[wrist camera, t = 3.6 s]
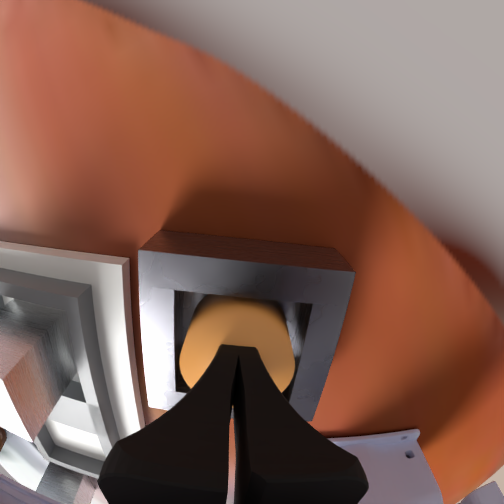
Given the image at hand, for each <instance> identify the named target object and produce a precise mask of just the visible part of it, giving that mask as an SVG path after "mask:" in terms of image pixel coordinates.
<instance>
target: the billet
mask: <svg viewBox="0 0 504 504" xmlns="http://www.w3.org/2000/svg"><path fill="white" fill-rule="evenodd" d="M36 492H37V493H39V494H42V495H44V496H46V497H48V498H50V499H53V500H55V501H57V502H60V503H62V504H90V503H91V500H92V498H93V495H94V492H95V489H94V487H93V485H92V483H91V482H90V480H89V478H88V476H87V475H85V474H82V473H79V472H76V471H73V470H71V469H68V468H65V467H63V466H60V465H58V464H55V463H53V462H50V463H49V465H48V467H47V469H46V471H45V473H44V475H43V477H42V479H41V481H40V483H39V485H38V487H37V490H36Z"/></svg>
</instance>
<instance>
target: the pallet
mask: <svg viewBox="0 0 504 504" xmlns="http://www.w3.org/2000/svg"><path fill="white" fill-rule="evenodd" d="M12 299H17V300H20V301H24V302H28V303H32V304H36V305H40V306H45V307H49V308H53V309H58V310H62V311H65V312H66V318H67V324H68V329H69V334H70V339H71V344H72V349H73V353H74V358H75V362H76V366H77V370H78V372H77V373H76V375H75V376H74V378H73V379H72V381H71V382H70V384H69V385H68V387H67V388H66V390H65V391H64V393H63V394H62V396H61V397H60V399H59V401H58V402H57V404H56V405H55V407H54V408H53V410H52V412H51V413H50V415H49V416H48V418H47V420H46V421H45V423H44V425H43V426H42V428H41V429H40V431H39V433H38V434H37V436H36V438H35V440H34V442H35V444H36V446H37V448H38V449H39V451H40V453H41V454H42V456H43V458H44V459H45V460H48V461H50V462H53V463H55V464H58V465H60V466H63V467H65V468H68V469H71V470H73V471H76V472H79V473H82V474H85V475H88V476H91V477H94V478H97V479H98V477H99V474H100V472H101V469H102V466H103V463H104V461H105V459H106V457H107V456H108V454H109V452H110V450H111V449H112V447H113V446H114V444H115V443H116V442H117V441H119V440H121V439H123V438H125V437H127V436H129V435H131V434H133V433H135V432H137V431H139V430H141V429H142V428H144V427H145V422H144V416H143V410H142V403H141V397H140V390H139V382H138V374H137V366H136V357H135V347H134V337H133V325H132V310H131V292H130V262H129V258H125V257H117V256H109V255H101V254H93V253H85V252H77V251H69V250H62V249H54V248H47V247H39V246H32V245H25V244H18V243H11V242H4V241H0V309H1V308H2V307H3V306H4V305H6V304H7V303H8V302H10V301H11V300H12Z"/></svg>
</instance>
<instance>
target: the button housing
mask: <svg viewBox="0 0 504 504" xmlns="http://www.w3.org/2000/svg"><path fill="white" fill-rule="evenodd" d="M138 273H139V304H140V323H141V338H142V350H143V361H144V372H145V381H146V389H147V397H148V405H149V407H152V408H158V409H164V410H169V409H171V408H172V407H173V406H174V405H175V404H176V403H178V402H179V401H180V400H181V399H182V398H183V397H184V396H185V395H186V394H187V393H188V392H189V391H190V389H191V388H190V387H189V386H188V385H187V383H186V382H185V380H184V378H183V376H182V374H181V370H180V363H179V362H180V354H181V350H182V347H183V344H184V341H185V337H186V334H187V331H188V328H189V325H190V322H191V319H192V316H193V313H194V310H195V308H196V307H197V305H198V303H199V302H200V301H201V300H202V299H203V298H204V297H205V296H206V295H208V294H215V295H224V296H233V297H243V298H254V299H264V300H276V301H277V302H278V304H279V305H280V306H281V308H282V310H283V312H284V314H285V317H286V322H287V326H288V331H289V336H290V340H291V345H292V350H293V355H294V360H295V370H294V374H293V377H292V380H291V382H290V383H289V385H288V386H287V388H286V389H285V390H284V391H283V392H282V394H283V396H284V397H285V398H286V400H287V401H288V402H289V403H290V405H291V406H292V407H293V408H294V409H295V410H296V411H297V413H298V414H299V415H300V416H301V417H302V418H303V419H304V420H305V421H312V419H313V417H314V414H315V411H316V408H317V405H318V403H319V400H320V397H321V394H322V391H323V388H324V385H325V382H326V379H327V376H328V372H329V369H330V366H331V363H332V360H333V356H334V353H335V350H336V346H337V343H338V339H339V336H340V332H341V329H342V325H343V321H344V318H345V314H346V310H347V306H348V302H349V298H350V294H351V290H352V286H353V282H354V278H355V273H356V272H355V271H354V270H353V268H352V267H351V266H350V265H349V264H348V263H347V261H346V260H345V259H344V258H343V257H342V256H341V255H340V253H339V252H338V251H337V250H336V249H335V248H326V247H317V246H308V245H299V244H290V243H281V242H271V241H262V240H253V239H243V238H233V237H224V236H214V235H204V234H194V233H184V232H174V231H164V230H159V231H158V232H157V233H156V234H155V235H154V236H153V237H152V238H151V239H150V240H148V241H147V242H146V243H145V244H144V245H143V246H142V247H141V248H140V249H139V250H138ZM231 418H234V417H233V408H232V413H231Z"/></svg>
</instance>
